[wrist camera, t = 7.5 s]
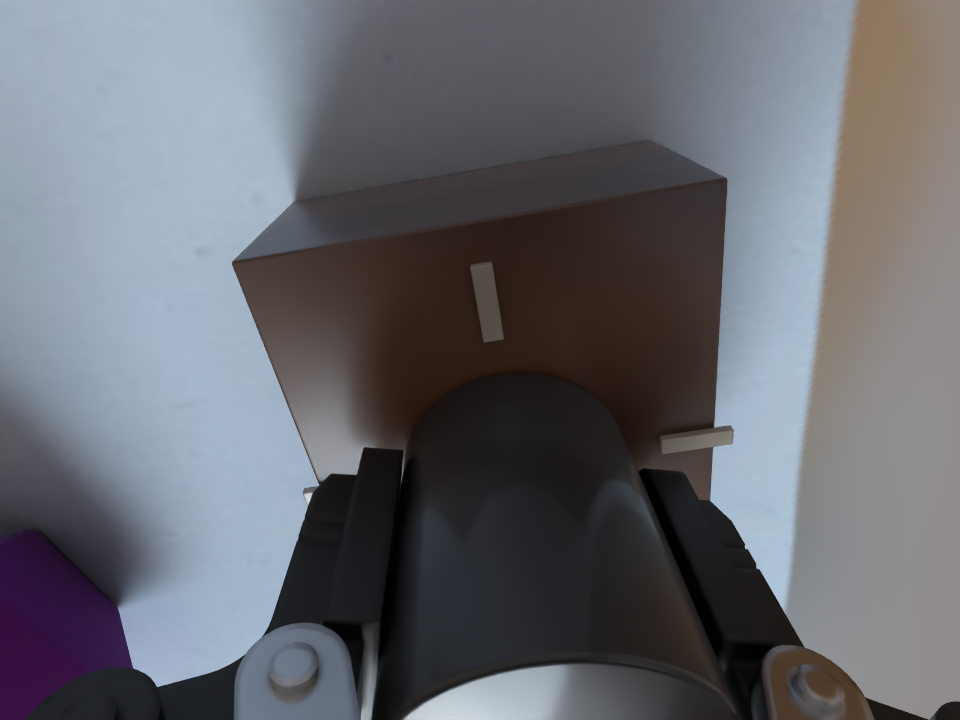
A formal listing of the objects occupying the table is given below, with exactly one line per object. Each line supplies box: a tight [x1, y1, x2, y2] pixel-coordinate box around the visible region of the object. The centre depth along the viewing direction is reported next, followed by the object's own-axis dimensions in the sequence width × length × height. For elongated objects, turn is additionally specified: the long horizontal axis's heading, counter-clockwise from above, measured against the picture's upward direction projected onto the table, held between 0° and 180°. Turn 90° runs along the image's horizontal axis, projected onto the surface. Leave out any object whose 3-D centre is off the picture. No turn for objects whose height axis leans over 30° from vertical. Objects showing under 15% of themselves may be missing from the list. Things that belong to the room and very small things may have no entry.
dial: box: [371, 373, 742, 720], centre depth 9 cm, size 4×4×6 cm
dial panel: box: [232, 140, 734, 505], centre depth 13 cm, size 10×9×4 cm
